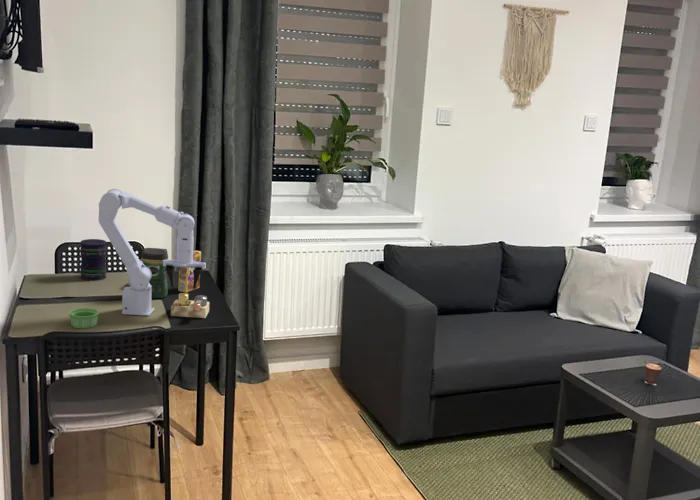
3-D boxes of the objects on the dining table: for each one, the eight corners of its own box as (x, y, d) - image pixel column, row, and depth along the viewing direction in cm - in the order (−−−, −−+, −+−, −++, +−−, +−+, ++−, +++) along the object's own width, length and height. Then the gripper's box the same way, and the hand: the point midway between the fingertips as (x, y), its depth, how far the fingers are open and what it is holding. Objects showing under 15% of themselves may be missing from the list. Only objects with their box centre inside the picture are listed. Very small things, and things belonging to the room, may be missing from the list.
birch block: (170, 315, 238) (171, 306, 238) (175, 308, 246) (175, 299, 245) (205, 318, 239) (205, 308, 238) (209, 311, 247) (209, 301, 246)
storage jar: (76, 279, 272) (75, 243, 268) (86, 273, 281) (86, 238, 278) (100, 281, 271) (100, 245, 268) (110, 275, 281) (110, 240, 278)
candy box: (186, 293, 266) (187, 255, 262) (177, 291, 267) (178, 253, 264) (200, 288, 274) (201, 251, 270) (191, 286, 275) (192, 249, 272)
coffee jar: (169, 293, 263) (170, 246, 259) (164, 299, 256) (165, 251, 252) (144, 292, 263) (144, 245, 259) (138, 298, 255) (139, 249, 251)
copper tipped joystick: (189, 311, 233) (189, 303, 233) (195, 302, 244) (195, 294, 243) (202, 312, 234) (202, 304, 233) (207, 302, 244) (208, 295, 244)
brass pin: (177, 314, 241) (177, 295, 239) (179, 311, 244) (179, 292, 242) (186, 314, 241) (187, 295, 239) (188, 312, 244) (189, 293, 242)
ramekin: (96, 319, 229) (96, 306, 228) (100, 328, 222) (100, 315, 221) (68, 321, 225) (67, 308, 224) (71, 330, 217) (71, 317, 217)
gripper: (161, 250, 233) (160, 288, 236) (203, 253, 234) (202, 291, 237) (165, 246, 240) (165, 283, 243) (207, 249, 241) (205, 286, 244)
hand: (183, 287), depth 240 cm, fingers open, 7 cm apart
